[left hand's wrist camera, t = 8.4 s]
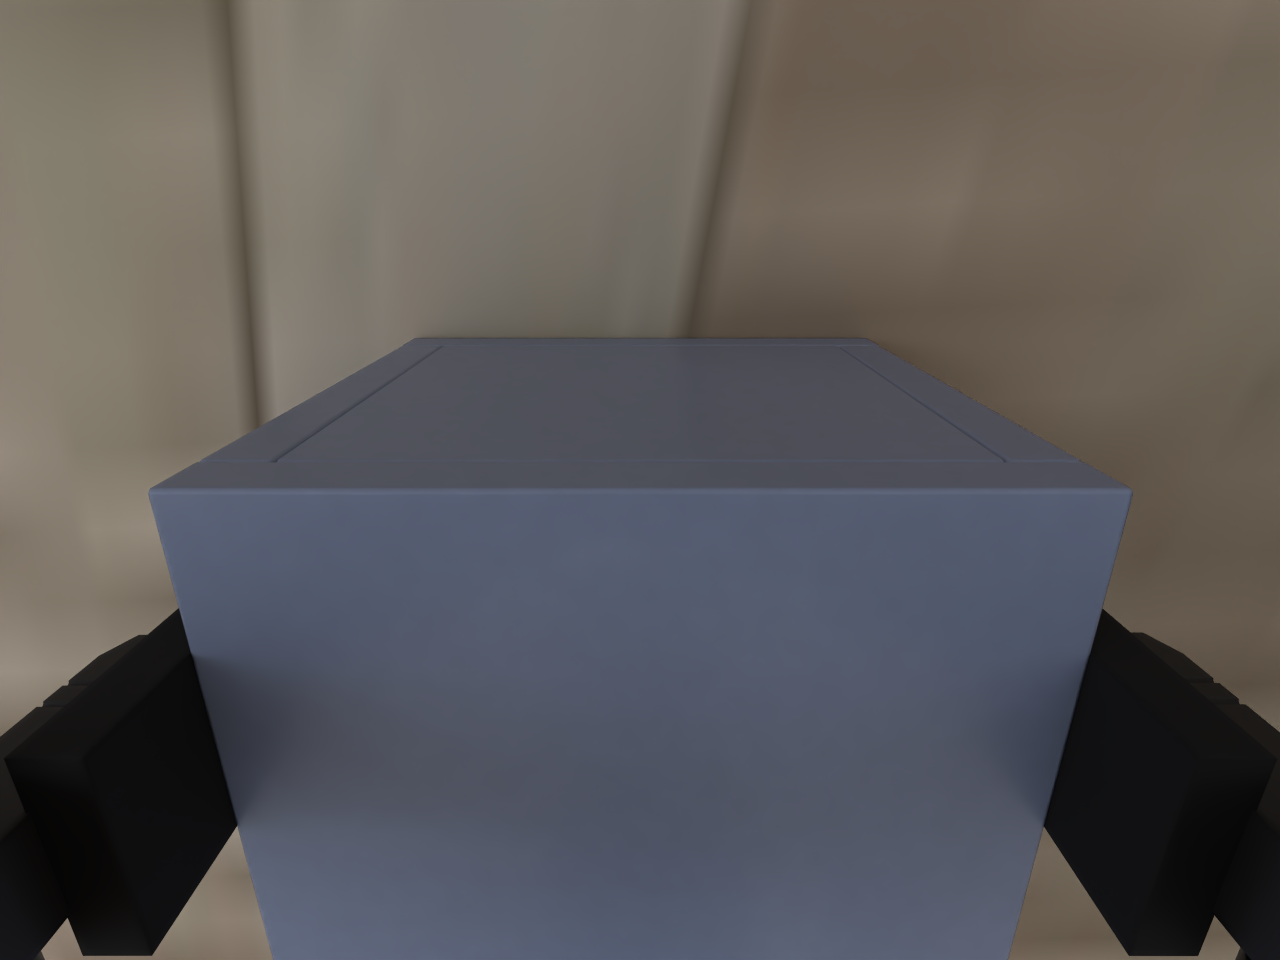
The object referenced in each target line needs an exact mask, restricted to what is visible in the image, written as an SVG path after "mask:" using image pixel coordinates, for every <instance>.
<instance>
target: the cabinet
mask: <svg viewBox="0 0 1280 960" xmlns="http://www.w3.org/2000/svg"><path fill="white" fill-rule="evenodd" d="M1132 496H1133V492H1132V489H1131V488H1129V487H1127V486H1126V485H1124V484H1122V483H1120V482H1118V481H1117V480H1115V479H1113V478H1111V477H1110V476H1108V475H1106V474H1104V473H1103V472H1101V471H1099V470H1097V469H1095V468H1094V467H1092V466H1090V465H1088V464H1086V463H1084V462H1081V461H1080V460H1079V459H1077V458H1076V457H1074V456H1072V455H1070V454H1068V453H1067V452H1065V451H1063V450H1061V449H1060V448H1058V447H1056V446H1054V445H1053V444H1051V443H1049V442H1047V441H1046V440H1044V439H1042V438H1040V437H1038V436H1037V435H1035V434H1033V433H1031V432H1030V431H1028V430H1026V429H1024V428H1023V427H1021V426H1019V425H1017V424H1015V423H1014V422H1012V421H1010V420H1008V419H1007V418H1005V417H1003V416H1001V415H1000V414H998V413H996V412H994V411H993V410H991V409H989V408H987V407H985V406H984V405H982V404H980V403H978V402H977V401H975V400H973V399H971V398H970V397H968V396H966V395H964V394H963V393H961V392H959V391H957V390H955V389H954V388H952V387H950V386H948V385H947V384H945V383H943V382H941V381H940V380H938V379H936V378H934V377H932V376H931V375H929V374H927V373H925V372H924V371H922V370H920V369H918V368H917V367H915V366H913V365H911V364H910V363H908V362H906V361H904V360H902V359H901V358H899V357H897V356H895V355H894V354H892V353H890V352H888V351H887V350H885V349H883V348H881V347H880V346H878V345H877V344H875V343H873V342H872V341H870V340H868V339H866V338H415V339H413V340H411V341H410V342H408V343H406V344H404V345H403V346H402V347H400V348H398V349H397V350H395V351H393V352H391V353H390V354H388V355H386V356H384V357H382V358H381V359H379V360H377V361H375V362H374V363H372V364H370V365H368V366H367V367H365V368H363V369H361V370H359V371H358V372H356V373H354V374H352V375H351V376H349V377H347V378H345V379H344V380H342V381H340V382H338V383H337V384H335V385H333V386H331V387H329V388H328V389H326V390H324V391H322V392H321V393H319V394H317V395H315V396H314V397H312V398H310V399H308V400H306V401H305V402H303V403H301V404H299V405H298V406H296V407H294V408H292V409H291V410H289V411H287V412H285V413H284V414H282V415H280V416H278V417H276V418H275V419H273V420H271V421H269V422H268V423H266V424H264V425H262V426H261V427H259V428H257V429H255V430H253V431H252V432H250V433H248V434H246V435H245V436H243V437H241V438H239V439H238V440H236V441H234V442H232V443H231V444H229V445H227V446H225V447H223V448H222V449H220V450H218V451H216V452H215V453H213V454H211V455H209V456H208V457H206V458H204V459H202V460H201V461H200V462H197V463H195V464H193V465H191V466H189V467H187V468H186V469H184V470H182V471H180V472H179V473H177V474H175V475H173V476H171V477H170V478H168V479H166V480H164V481H163V482H161V483H159V484H157V485H156V486H154V487H152V488H150V490H149V498H150V502H151V505H152V509H153V513H154V517H155V520H156V524H157V528H158V532H159V535H160V539H161V543H162V546H163V550H164V554H165V558H166V561H167V565H168V569H169V573H170V576H171V580H172V584H173V587H174V591H175V595H176V599H177V602H178V606H179V610H180V614H181V617H182V621H183V625H184V628H185V632H186V636H187V640H188V643H189V647H190V651H191V655H192V658H193V662H194V666H195V669H196V673H197V677H198V681H199V684H200V688H201V692H202V696H203V699H204V703H205V707H206V710H207V714H208V718H209V722H210V725H211V729H212V733H213V737H214V740H215V744H216V748H217V751H218V755H219V759H220V763H221V766H222V770H223V774H224V778H225V781H226V785H227V789H228V792H229V796H230V800H231V804H232V807H233V811H234V815H235V819H236V822H237V826H238V830H239V833H240V837H241V841H242V845H243V848H244V852H245V856H246V860H247V863H248V867H249V871H250V874H251V878H252V882H253V886H254V889H255V893H256V897H257V901H258V904H259V908H260V912H261V915H262V919H263V923H264V927H265V930H266V934H267V938H268V942H269V945H270V949H271V953H272V956H273V960H1008V957H1009V954H1010V950H1011V946H1012V943H1013V939H1014V935H1015V931H1016V928H1017V924H1018V920H1019V916H1020V913H1021V909H1022V905H1023V902H1024V898H1025V894H1026V890H1027V887H1028V883H1029V879H1030V875H1031V872H1032V868H1033V864H1034V861H1035V857H1036V853H1037V849H1038V846H1039V842H1040V838H1041V835H1042V831H1043V827H1044V823H1045V820H1046V816H1047V812H1048V808H1049V805H1050V801H1051V797H1052V794H1053V790H1054V786H1055V782H1056V779H1057V775H1058V771H1059V767H1060V764H1061V760H1062V756H1063V753H1064V749H1065V745H1066V741H1067V738H1068V734H1069V730H1070V726H1071V723H1072V719H1073V715H1074V712H1075V708H1076V704H1077V700H1078V697H1079V693H1080V689H1081V686H1082V682H1083V678H1084V674H1085V671H1086V667H1087V663H1088V659H1089V656H1090V652H1091V648H1092V645H1093V641H1094V637H1095V633H1096V630H1097V626H1098V622H1099V618H1100V615H1101V611H1102V607H1103V604H1104V600H1105V596H1106V592H1107V589H1108V585H1109V581H1110V578H1111V574H1112V570H1113V566H1114V563H1115V559H1116V555H1117V551H1118V548H1119V544H1120V540H1121V537H1122V533H1123V529H1124V525H1125V522H1126V518H1127V514H1128V510H1129V507H1130V503H1131V499H1132Z"/></svg>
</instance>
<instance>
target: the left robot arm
mask: <svg viewBox="0 0 1280 960" xmlns="http://www.w3.org/2000/svg"><path fill="white" fill-rule="evenodd" d="M43 703H44V704H43V706H42V707H36V708H35V709H34V710H32V711H31V712H30V713H29V714H28V715H26V716H25V717H24V718H23V719H21V720H20V721H19V722H18V723H17V724H15V725H14V726H13V727H12V728H10V729H9V730H8V731H7V732H6V733H4V734H3V735H2V736H1V737H0V960H45V959H44V957H43V955H42V952H41V950H42V949H43V947H44V946H45V945H46V944H47V942H48V941H49V940H50V939H51V937H52V936H53V935H54V934H55V933H56V931H57V930H58V929H59V928H60V926H61V925H62V924H63V923H64V921H65V920H66V919H67V918H68V920H69V922H70V925H71V927H72V930H73V932H74V935H75V937H76V940H77V942H78V945H79V947H80V950H81V952H82V954H83V956H152V955H153V953H154V952H155V950H156V949H157V947H158V946H159V944H160V943H161V941H162V940H163V938H164V936H165V935H166V933H167V932H168V930H169V929H170V927H171V926H172V924H173V923H174V921H175V920H176V918H177V917H178V915H179V914H180V912H181V911H182V909H183V908H184V906H185V905H186V903H187V901H188V900H189V898H190V897H191V895H192V894H193V892H194V891H195V889H196V888H197V886H198V885H199V883H200V882H201V880H202V879H203V877H204V876H205V874H206V873H207V871H208V869H209V868H210V866H211V865H212V863H213V862H214V860H215V859H216V857H217V856H218V854H219V853H220V851H221V850H222V848H223V847H224V845H225V844H226V842H227V841H228V839H229V837H230V836H231V834H232V833H233V831H234V830H235V828H236V827H237V822H236V819H235V815H234V811H233V807H232V804H231V800H230V796H229V792H228V789H227V785H226V781H225V778H224V774H223V770H222V766H221V763H220V759H219V755H218V751H217V748H216V744H215V740H214V737H213V733H212V729H211V725H210V722H209V718H208V714H207V710H206V707H205V703H204V699H203V696H202V692H201V688H200V684H199V681H198V677H197V673H196V669H195V666H194V662H193V658H192V655H191V651H190V647H189V643H188V640H187V636H186V632H185V628H184V625H183V621H182V617H181V614H180V610H179V608H178V609H177V610H176V611H175V612H174V613H173V614H171V615H170V616H169V617H168V618H167V619H166V620H164V621H163V622H162V623H161V624H160V625H159V626H157V627H156V628H155V629H154V630H153V631H152V632H150V633H149V634H148V635H138V636H136V637H134V638H132V639H130V640H128V641H126V642H125V643H123V644H121V645H119V646H117V647H115V648H113V649H111V650H109V651H107V652H106V653H104V654H102V655H100V656H98V657H97V658H96V659H95V660H93V661H92V662H91V663H90V664H89V665H87V666H86V667H85V668H84V669H82V670H81V671H80V672H79V673H78V674H76V675H75V676H74V677H73V678H71V679H70V680H69V684H68V686H62V687H60V688H59V689H58V690H57V691H56V692H54V693H53V694H52V695H51V696H50V697H48V698H47V699H46V700H45V701H43ZM1044 827H1045V829H1046V830H1047V832H1048V833H1049V835H1050V836H1051V838H1052V839H1053V841H1054V842H1055V844H1056V845H1057V847H1058V849H1059V850H1060V852H1061V853H1062V855H1063V856H1064V858H1065V859H1066V861H1067V862H1068V864H1069V865H1070V867H1071V868H1072V870H1073V871H1074V873H1075V874H1076V876H1077V877H1078V879H1079V880H1080V882H1081V884H1082V885H1083V887H1084V888H1085V890H1086V891H1087V893H1088V894H1089V896H1090V897H1091V899H1092V900H1093V902H1094V903H1095V905H1096V906H1097V908H1098V909H1099V911H1100V912H1101V914H1102V916H1103V917H1104V919H1105V920H1106V922H1107V923H1108V925H1109V926H1110V928H1111V929H1112V931H1113V932H1114V934H1115V935H1116V937H1117V938H1118V940H1119V941H1120V943H1121V944H1122V946H1123V947H1124V949H1125V951H1126V952H1127V954H1128V955H1129V956H1198V955H1199V952H1200V950H1201V947H1202V945H1203V942H1204V940H1205V937H1206V935H1207V932H1208V930H1209V927H1210V925H1211V922H1212V920H1213V917H1214V915H1215V916H1216V918H1217V919H1218V920H1219V921H1220V922H1221V924H1222V925H1223V926H1224V927H1225V929H1226V930H1227V931H1228V932H1229V933H1230V935H1231V936H1232V937H1233V938H1234V940H1235V941H1236V942H1237V943H1238V944H1239V946H1240V947H1241V948H1240V950H1239V952H1238V955H1237V957H1236V959H1235V960H1280V732H1279V731H1277V730H1276V729H1275V728H1274V727H1272V726H1271V725H1270V724H1269V723H1268V722H1266V721H1265V720H1264V719H1263V718H1261V717H1260V716H1259V715H1258V714H1257V713H1255V712H1254V711H1253V710H1252V709H1250V708H1249V707H1248V706H1247V705H1245V704H1239V699H1238V698H1237V697H1236V696H1234V695H1233V694H1232V693H1231V692H1229V691H1228V690H1227V689H1226V688H1225V687H1223V686H1222V685H1221V684H1220V683H1214V682H1213V678H1212V677H1211V676H1210V675H1209V674H1207V673H1206V672H1205V671H1204V670H1202V669H1201V668H1200V667H1199V666H1198V665H1196V664H1195V663H1194V662H1193V661H1191V660H1190V659H1189V658H1188V657H1186V656H1185V655H1184V654H1183V653H1181V652H1179V651H1177V650H1175V649H1173V648H1171V647H1169V646H1167V645H1165V644H1164V643H1162V642H1160V641H1158V640H1156V639H1154V638H1152V637H1150V636H1148V635H1146V634H1144V633H1130V632H1129V631H1128V630H1127V629H1126V628H1125V627H1123V626H1122V625H1121V624H1120V623H1119V622H1118V621H1116V620H1115V619H1114V618H1113V617H1112V616H1111V615H1109V614H1108V613H1107V612H1106V611H1105V610H1104V609H1102V611H1101V615H1100V618H1099V622H1098V626H1097V630H1096V633H1095V637H1094V641H1093V645H1092V648H1091V652H1090V656H1089V659H1088V663H1087V667H1086V671H1085V674H1084V678H1083V682H1082V686H1081V689H1080V693H1079V697H1078V700H1077V704H1076V708H1075V712H1074V715H1073V719H1072V723H1071V726H1070V730H1069V734H1068V738H1067V741H1066V745H1065V749H1064V753H1063V756H1062V760H1061V764H1060V767H1059V771H1058V775H1057V779H1056V782H1055V786H1054V790H1053V794H1052V797H1051V801H1050V805H1049V808H1048V812H1047V816H1046V820H1045V823H1044Z"/></svg>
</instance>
